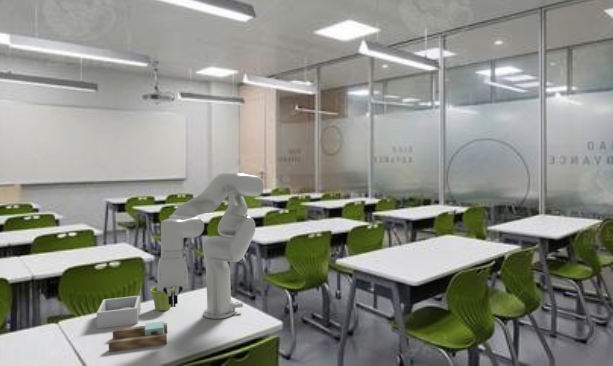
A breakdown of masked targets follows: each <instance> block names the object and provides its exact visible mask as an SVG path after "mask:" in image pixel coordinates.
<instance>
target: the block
mask: <svg viewBox="0 0 613 366" xmlns="http://www.w3.org/2000/svg"><path fill="white" fill-rule="evenodd" d="M164 323H165V321H164V320H163V321H155V322H153V321H152V322H148V323H145V325H144V326H145V336H148V335H151V332H154V331H157V334H164Z"/></svg>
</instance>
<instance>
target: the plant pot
mask: <svg viewBox="0 0 613 366" xmlns="http://www.w3.org/2000/svg"><path fill="white" fill-rule="evenodd" d="M174 290H175V287H171V292H172V294H174ZM150 292H151V294H152V298H153V304H154V309H155V311H159V312H161V311H164V312H165V311H167V310H170V309H171V308H172V307H171V304H169V296H168V295H167V294H166V293H165V292H164V291H157V286H154V287H152V288H151V289H150Z"/></svg>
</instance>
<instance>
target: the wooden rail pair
mask: <svg viewBox="0 0 613 366" xmlns="http://www.w3.org/2000/svg"><path fill="white" fill-rule="evenodd" d="M145 326H146V325H141V326H140V325H139V326H132V327H124V328H116V329H113V330H112V340H109V341H108V353H111V352H119V351H125V350H127V351H128V350H132V349H133V350H134V349H135V350H136V349H139V348H147V347H154V346H162V345H167V344H168V337H167V335H168V322H164V334H157V331H154V332H151V335H148V336H145Z"/></svg>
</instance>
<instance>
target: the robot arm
mask: <svg viewBox="0 0 613 366" xmlns="http://www.w3.org/2000/svg"><path fill="white" fill-rule="evenodd" d="M264 188H265V183H264V181H263V179H262V178H261V177H260V176H257V175H251V174H245V173H240V172H223V173H222V172H221V173H219V174H217V175H216V176H215V177H214V178H213V180H211V182H210V183H209V184H208V185H207V187H206V188H205V189H204V190H203V191H202V192H201V193H200V194H198V195H196V196H194V197H192V198H191V199H189V200H187V201H185V202H184V203H182V204H180V205H179V206H178V207H177V208H176V209H175V210H174V211H173V213H172V214H171V215H170V216H169V217H168V218H166V219H163V220H162V221H161V223H160V252H161V253H160V256H161V257H160V258H159V259H158V264H157V286H156V287H157V291H164V292H165V293H166V294H167V295H168V296H169V304H171V307H170V308H176V305H177V304H178V302H179V301H178V296H179V295H180V293H181V292H182V291H183V290H187V289H189V287H190V286H189V272H188V263H187V262H188V261H187V258H186V256H185V255H188V254H189V250H188V249H185V247H184V246H185V245H184V239H185V238H186V239H187V238H189V239H191V238H197V237H200V236H201V235H203V234H202V233H203V232H204V230H205V223H204V221H203V220H202V219H201V218H199V217H197V216H199V215H203V214H207V213H211V212H213V211H215V210H217V209H218V208H220V205H221V204H222V203H223V202H224V201H225V200H226V198H227V197H228V205H227V208H226V210H225V211H224V213H223V215H222V217H221V219H220V220H219V223H218V225H217V232H218V234H219V235H212V236H209V237H207V238H206V239H205V240H204V241H203V244H202V253H203V256H204V263H205V275H206V276H205V277H206V304H207V305H206V308H205V310H203V316H204V318H208V319H210V320H211V319H212V320H216V319H217V320H219V319H226V318H229V317H231V316H234V314H235V313H236V309H237V308H243V307H244V304H243V302H239V301H235V302H234V301H233V300H232V290H231V288H232V287H231V267H230V265H229V262H231V263H237V262H240V261H241V260H242V259H243V258H244V257H245V255H246V253H247V251H248V249H249V246H250V244H251V242H252V241H253V238H254V236H255V233H256V222H255V220H254V219H253V217H251V216H248V215H247V214H248V205H247V202H246V199H245V198H244V197H258V196H261V194H262V193H263V192H264ZM171 287H174V291H173V293H172V292H171Z"/></svg>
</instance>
